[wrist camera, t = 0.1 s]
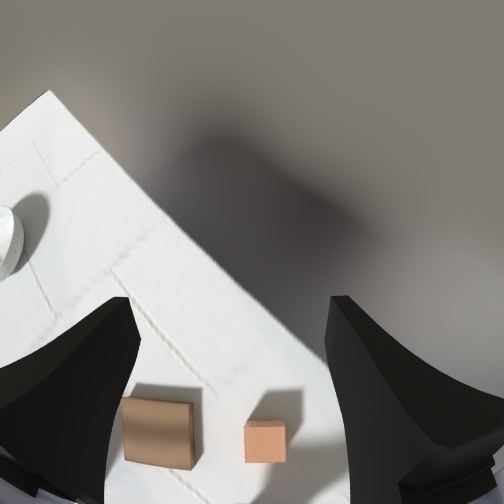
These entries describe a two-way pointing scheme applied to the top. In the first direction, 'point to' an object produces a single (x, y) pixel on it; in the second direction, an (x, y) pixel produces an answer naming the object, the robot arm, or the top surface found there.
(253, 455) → the terracotta cube
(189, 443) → the walnut slab
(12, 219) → the cereal bowl
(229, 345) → the top surface
